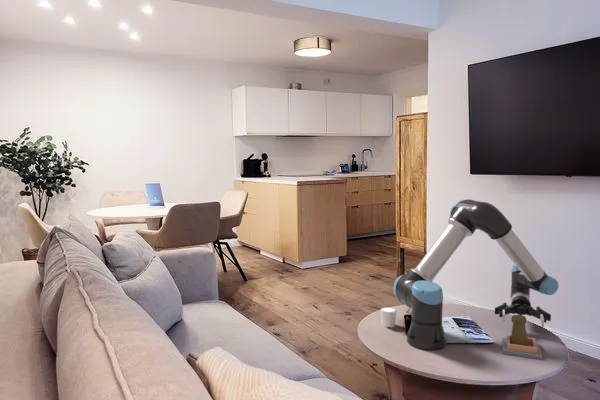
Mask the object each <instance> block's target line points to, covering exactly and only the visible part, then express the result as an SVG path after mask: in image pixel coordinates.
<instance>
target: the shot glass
mask: <svg viewBox="0 0 600 400" xmlns="http://www.w3.org/2000/svg"><path fill="white" fill-rule="evenodd" d="M380 317H381V318H380V319H381V320H380V321H381V326H382V327H384V328H389V327H390V328H394V327H395V326H396V319H397V309H396V308H394V307H390V306H389V307H387V306H385V307H382V308H380Z"/></svg>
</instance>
